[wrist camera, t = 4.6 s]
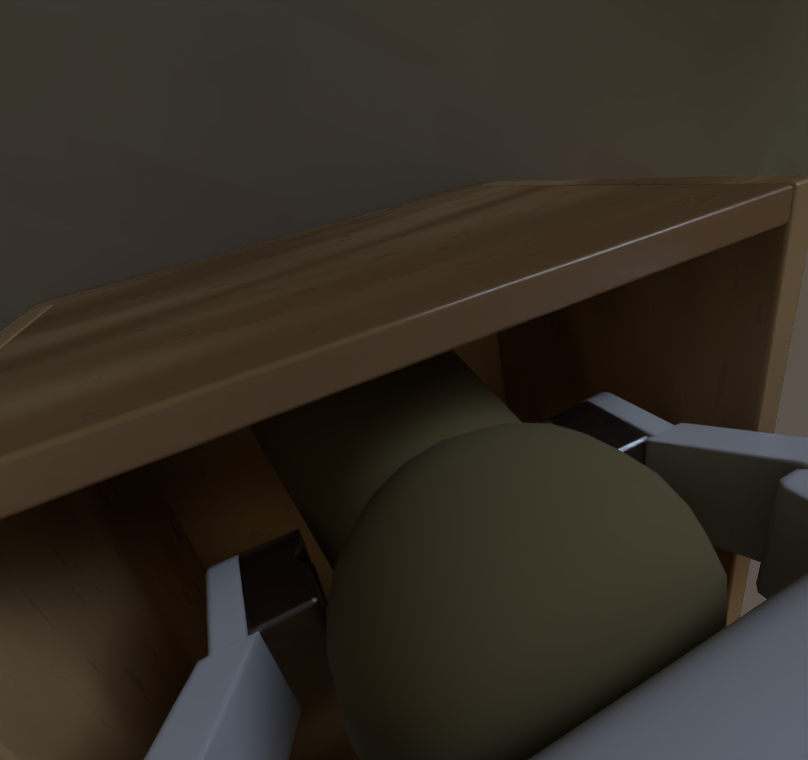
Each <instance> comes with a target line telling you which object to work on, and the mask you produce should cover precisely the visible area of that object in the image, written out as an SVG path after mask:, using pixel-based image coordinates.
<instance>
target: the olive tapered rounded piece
mask: <svg viewBox="0 0 808 760" xmlns="http://www.w3.org/2000/svg"><path fill="white" fill-rule="evenodd" d="M249 427H250V428H251V430H252V432H253V434H254V435H255V437H256V439H257V440H258V442H259V444H260V446H261V447H262V449H263V451H264V452H265V454H266V456H267V458H268V459H269V461H270V463H271V465H272V466H273V468H274V470H275V471H276V473H277V475H278V477H279V478H280V480H281V482H282V483H283V485H284V487H285V489H286V490H287V492H288V494H289V496H290V497H291V499H292V501H293V502H294V504H295V506H296V508H297V509H298V511H299V513H300V515H301V516H302V518H303V520H304V521H305V523H306V525H307V527H308V528H309V530H310V532H311V533H312V535H313V537H314V539H315V540H316V542H317V544H318V546H319V547H320V549H321V551H322V552H323V554H324V556H325V558H326V559H327V561H328V563H329V565H330V566H331V568H332V570H333V571H334V574H333V579H332V584H331V589H330V594H329V599H328V604H327V609H326V651H327V656H328V660H329V664H330V669H331V673H332V678H333V682H334V686H335V691H336V695H337V698H338V702H339V706H340V710H341V714H342V717H343V721H344V725H345V729H346V733H347V736H348V740H349V742H350V744H351V745H352V747H353V749H354V750H355V752H356V754H357V756H358V757H359V759H360V760H528V759H529V758H531V757H532V756H534V755H535V754H537V753H538V752H540V751H541V750H543V749H544V748H546V747H547V746H549V745H550V744H552V743H553V742H555V741H556V740H558V739H559V738H561V737H562V736H564V735H565V734H567V733H568V732H570V731H571V730H573V729H574V728H576V727H577V726H579V725H580V724H582V723H583V722H585V721H586V720H588V719H589V718H591V717H592V716H594V715H595V714H596V713H598V712H599V711H601V710H602V709H604V708H605V707H607V706H608V705H610V704H611V703H613V702H614V701H616V700H617V699H619V698H620V697H622V696H623V695H625V694H626V693H628V692H629V691H631V690H632V689H634V688H635V687H637V686H638V685H640V684H641V683H643V682H644V681H646V680H647V679H649V678H650V677H652V676H653V675H655V674H656V673H658V672H659V671H661V670H662V669H664V668H665V667H667V666H668V665H670V664H671V663H673V662H674V661H676V660H677V659H679V658H680V657H682V656H683V655H685V654H686V653H688V652H689V651H691V650H692V649H694V648H695V647H697V646H698V645H700V644H701V643H703V642H704V641H706V640H707V639H709V638H710V637H712V636H713V635H715V634H716V633H718V632H719V631H721V630H722V629H724V628H725V627H726V621H727V609H728V600H727V574H726V572H725V570H724V568H723V566H722V564H721V562H720V560H719V558H718V556H717V554H716V552H715V550H714V548H713V546H712V544H711V542H710V540H709V538H708V536H707V534H706V532H705V531H704V529H703V527H702V526H701V524H700V523H699V521H698V519H697V518H696V516H695V515H694V513H693V511H692V510H691V508H690V507H689V506H688V504H687V503H686V502H685V501H684V500H683V499H682V498H681V497H680V496H679V495H678V494H677V493H676V492H675V491H674V490H673V489H672V488H671V487H670V486H669V485H668V484H667V482H666V481H665V480H664V479H663V478H662V477H661V476H660V475H659V474H658V473H657V472H655V471H653V470H652V469H650V468H648V467H647V466H645V465H644V464H642V463H640V462H639V461H637V460H635V459H634V458H632V457H630V456H629V455H627V454H625V453H624V452H622V451H621V450H618V449H616V448H614V447H612V446H610V445H608V444H606V443H604V442H602V441H600V440H598V439H595V438H593V437H591V436H589V435H587V434H584V433H581V432H578V431H574V430H571V429H567V428H564V427H561V426H557V425H554V424H548V423H522V422H521V421H520V420H519V419H518V418H517V417H516V415H515V414H514V413H513V412H512V411H511V410H510V409H509V408H508V407H507V406H506V405H505V404H504V403H503V402H502V401H501V400H500V399H499V398H498V397H497V396H496V395H495V393H494V392H493V391H492V390H491V389H490V388H489V387H488V386H487V385H486V384H485V383H484V382H483V381H482V380H481V379H480V378H479V377H478V376H477V375H476V374H475V373H474V371H473V370H472V369H471V368H470V367H469V366H468V365H467V364H466V363H465V362H464V361H463V360H462V359H461V358H460V357H459V356H458V355H457V354H456V353H455V352H454V351H453V350H450V351H448V352H445V353H442V354H440V355H437V356H434V357H432V358H429V359H426V360H424V361H421V362H418V363H416V364H413V365H410V366H408V367H405V368H402V369H400V370H397V371H394V372H392V373H389V374H386V375H384V376H381V377H378V378H376V379H373V380H371V381H368V382H365V383H363V384H360V385H357V386H355V387H352V388H349V389H347V390H344V391H341V392H339V393H336V394H333V395H331V396H328V397H325V398H323V399H320V400H317V401H315V402H312V403H309V404H307V405H304V406H301V407H299V408H296V409H293V410H291V411H288V412H285V413H283V414H280V415H277V416H275V417H272V418H269V419H267V420H264V421H262V422H259V423H256V424H254V425H251V426H249Z"/></svg>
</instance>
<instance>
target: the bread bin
mask: <svg viewBox="0 0 808 760" xmlns="http://www.w3.org/2000/svg"><path fill="white" fill-rule="evenodd" d="M807 251H808V175H776V176H729V177H683V178H637V179H591V180H545V181H499V182H481V183H477V184H474V185H470V186H466V187H463V188H459V189H455V190H452V191H448V192H444V193H441V194H437V195H434V196H430V197H426V198H423V199H419V200H415V201H412V202H408V203H404V204H401V205H397V206H393V207H390V208H386V209H383V210H379V211H375V212H372V213H368V214H364V215H361V216H357V217H353V218H350V219H346V220H342V221H339V222H335V223H332V224H328V225H324V226H321V227H317V228H313V229H310V230H306V231H302V232H299V233H295V234H292V235H288V236H284V237H281V238H277V239H273V240H270V241H266V242H262V243H259V244H255V245H251V246H248V247H244V248H241V249H237V250H233V251H230V252H226V253H222V254H219V255H215V256H211V257H208V258H204V259H200V260H197V261H193V262H190V263H186V264H182V265H179V266H175V267H171V268H168V269H164V270H160V271H157V272H153V273H150V274H146V275H142V276H139V277H135V278H131V279H128V280H124V281H120V282H117V283H113V284H109V285H106V286H102V287H99V288H95V289H91V290H88V291H84V292H80V293H77V294H73V295H69V296H66V297H62V298H59V299H55V300H51V301H48V302H44V303H40V304H37V305H35V306H34V307H32V308H31V309H30V310H29V311H27V312H26V313H25V314H23V315H22V316H20V317H19V318H18V319H16V320H15V321H14V322H12V323H11V324H10V325H8V326H7V327H5V328H4V329H3V330H1V331H0V760H144V758H145V756H146V754H147V752H148V751H149V749H150V747H151V745H152V743H153V741H154V740H155V738H156V736H157V734H158V732H159V731H160V729H161V727H162V725H163V723H164V721H165V720H166V718H167V716H168V714H169V712H170V711H171V709H172V707H173V705H174V703H175V701H176V700H177V698H178V696H179V694H180V692H181V691H182V689H183V687H184V685H185V683H186V681H187V680H188V678H189V676H190V674H191V672H192V671H193V669H194V667H195V665H196V663H197V661H199V660H201V659H203V658H205V657H207V656H208V642H207V609H206V577H205V575H206V572H207V570H208V567H210V566H212V565H214V564H217V563H219V562H221V561H224V560H226V559H228V558H231V557H233V556H236V555H239V554H240V553H241V552H244V551H246V550H249V549H251V548H253V547H256V546H258V545H260V544H263V543H265V542H268V541H270V540H272V539H275V538H277V537H279V536H282V535H284V534H287V533H289V532H291V531H294V530H296V529H299V531H300V533H301V535H302V537H303V539H304V542H305V544H306V546H307V549H308V553H309V556H310V559H311V562H312V563H314V565H315V568H316V570H317V573H318V575H319V578H320V580H321V583H322V585H323V588H324V591H325V594H326V597H327V599H329V594H330V589H331V584H332V579H333V574H334V571H333V570H332V568H331V566H330V565H329V563H328V561H327V559H326V558H325V556H324V554H323V552H322V551H321V549H320V547H319V546H318V544H317V542H316V540H315V539H314V537H313V535H312V533H311V532H310V530H309V528H308V527H307V525H306V523H305V521H304V520H303V518H302V516H301V515H300V513H299V511H298V509H297V508H296V506H295V504H294V502H293V501H292V499H291V497H290V496H289V494H288V492H287V490H286V489H285V487H284V485H283V483H282V482H281V480H280V478H279V477H278V475H277V473H276V471H275V470H274V468H273V466H272V465H271V463H270V461H269V459H268V458H267V456H266V454H265V452H264V451H263V449H262V447H261V446H260V444H259V442H258V440H257V439H256V437H255V435H254V434H253V432H252V430H251V428H250V427H249V426H251V425H254V424H256V423H259V422H262V421H264V420H267V419H269V418H272V417H275V416H277V415H280V414H283V413H285V412H288V411H291V410H293V409H296V408H299V407H301V406H304V405H307V404H309V403H312V402H315V401H317V400H320V399H323V398H325V397H328V396H331V395H333V394H336V393H339V392H341V391H344V390H347V389H349V388H352V387H355V386H357V385H360V384H363V383H365V382H368V381H371V380H373V379H376V378H378V377H381V376H384V375H386V374H389V373H392V372H394V371H397V370H400V369H402V368H405V367H408V366H410V365H413V364H416V363H418V362H421V361H424V360H426V359H429V358H432V357H434V356H437V355H440V354H442V353H445V352H448V351H450V350H453V351H454V352H455V353H456V354H457V355H458V356H459V357H460V358H461V359H462V360H463V361H464V362H465V363H466V364H467V365H468V366H469V367H470V368H471V369H472V370H473V371H474V373H475V374H476V375H477V376H478V377H479V378H480V379H481V380H482V381H483V382H484V383H485V384H486V385H487V386H488V387H489V388H490V389H491V390H492V391H493V392H494V393H495V395H496V396H497V397H498V398H499V399H500V400H501V401H502V402H503V403H504V404H505V405H506V406H507V407H508V408H509V409H510V410H511V411H512V412H513V413H514V414H515V415H516V417H517V418H518V419H519V420H520V421H521V422H522V423H539V421H541V420H543V419H545V418H547V417H550V416H552V415H554V414H556V413H558V412H561V411H563V410H565V409H567V408H569V407H572V406H574V405H576V404H579V403H581V401H583V400H586V399H588V398H590V397H592V396H594V395H596V394H598V393H600V392H608V393H611V394H613V395H615V396H617V397H619V398H621V399H623V400H625V401H627V402H629V403H631V404H633V405H635V406H637V407H639V408H641V409H643V410H645V411H647V412H649V413H651V414H653V415H655V416H657V417H659V418H661V419H663V420H665V421H667V422H669V423H671V424H673V425H677V424H679V423H689V424H697V425H706V426H714V427H722V428H730V429H739V430H747V431H755V432H764V433H772V434H774V429H775V424H776V419H777V413H778V408H779V402H780V397H781V392H782V386H783V381H784V375H785V370H786V364H787V359H788V353H789V348H790V343H791V337H792V332H793V326H794V321H795V315H796V310H797V305H798V299H799V293H800V288H801V283H802V277H803V272H804V267H805V261H806V256H807ZM712 546H713V545H712ZM713 548H714V550H715V552H716V554H717V556H718V558H719V560H720V562H721V564H722V566H723V568H724V570H725V572H726V574H727V600H728V609H727V621H726V627H727V626H728V625H730V624H731V623H733V622H734V621H736V620H737V619H739V618H740V614H741V609H742V603H743V598H744V592H745V587H746V581H747V576H748V571H749V565H750V560H751V558H748V557H745V556H742V555H739V554H736V553H733V552H730V551H727V550H725V549H722V548H719V547H716V546H713ZM300 707H301V709H302V710H301V714H300V718H299V722H298V726H297V730H296V734H295V738H294V742H293V746H292V750H291V754H290V758H289V760H360V759H359V757H358V756H357V754H356V752H355V750H354V749H353V747H352V745H351V744H350V742H349V740H348V736H347V733H346V729H345V725H344V721H343V717H342V714H341V710H340V706H339V702H338V698H337V695H336V691H335V686H334V687H332V688H330V689H328V690H327V691H325V692H323V693H322V694H320V695H318V696H316V697H315V698H313V699H311V700H310V701H308V702H306V703H304V704H303V705H301V706H300Z"/></svg>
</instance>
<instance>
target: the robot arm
mask: <svg viewBox="0 0 808 760" xmlns="http://www.w3.org/2000/svg"><path fill="white" fill-rule="evenodd" d="M539 423H548V424H554V425H557V426H561V427H564V428H567V429H571V430H574V431H578V432H581V433H584V434H587V435H589V436H591V437H593V438H595V439H598V440H600V441H602V442H604V443H606V444H608V445H610V446H612V447H614V448H616V449H618V450H621V451H622V452H624V453H625V454H627V455H629V456H630V457H632V458H634V459H635V460H637V461H639V462H640V463H642V464H644V465H645V466H647V467H648V468H650V469H652V470H653V471H655V472H657V473H658V474H659V475H660V476H661V477H662V478H663V479H664V480H665V481H666V482H667V484H668V485H669V486H670V487H671V488H672V489H673V490H674V491H675V492H676V493H677V494H678V495H679V496H680V497H681V498H682V499H683V500H684V501H685V502H686V503H687V504H688V506H689V507H690V508H691V510H692V511H693V513H694V515H695V516H696V518H697V519H698V521H699V523H700V524H701V526H702V527H703V529H704V531H705V532H706V534H707V536H708V538H709V540H710V542H711V544H712V545H713V546H716V547H719V548H722V549H725V550H727V551H730V552H733V553H736V554H739V555H742V556H745V557H748V558H751V559H753V560H756V561H759V562H761V564H760V569H759V574H758V578H757V582H756V584H757V590H758V593H760V594H761V595H763V596H764V597H765V598H766V599H767V600H766V601H764V602H763V603H761V604H760V605H758V606H757V607H755V608H754V609H752V610H751V611H749V612H748V613H746V614H745V615H743V616H742V617H740V618H739V619H737V620H736V621H734V622H733V623H731V624H730V625H728V626H727V627H725V628H724V629H722V630H721V631H719V632H718V633H716V634H715V635H713V636H712V637H710V638H709V639H707V640H706V641H704V642H703V643H701V644H700V645H698V646H697V647H695V648H694V649H692V650H691V651H689V652H688V653H686V654H685V655H683V656H682V657H680V658H679V659H677V660H676V661H674V662H673V663H671V664H670V665H668V666H667V667H665V668H664V669H662V670H661V671H659V672H658V673H656V674H655V675H653V676H652V677H650V678H649V679H647V680H646V681H644V682H643V683H641V684H640V685H638V686H637V687H635V688H634V689H632V690H631V691H629V692H628V693H626V694H625V695H623V696H622V697H620V698H619V699H617V700H616V701H614V702H613V703H611V704H610V705H608V706H607V707H605V708H604V709H602V710H601V711H599V712H598V713H596V714H595V715H594V716H592V717H591V718H589V719H588V720H586V721H585V722H583V723H582V724H580V725H579V726H577V727H576V728H574V729H573V730H571V731H570V732H568V733H567V734H565V735H564V736H562V737H561V738H559V739H558V740H556V741H555V742H553V743H552V744H550V745H549V746H547V747H546V748H544V749H543V750H541V751H540V752H538V753H537V754H535V755H534V756H532V757H531V758H529V759H528V760H808V438H805V437H797V436H789V435H780V434H772V433H764V432H755V431H747V430H739V429H730V428H722V427H714V426H706V425H697V424H689V423H679V424H677V425H673V424H671V423H669V422H667V421H665V420H663V419H661V418H659V417H657V416H655V415H653V414H651V413H649V412H647V411H645V410H643V409H641V408H639V407H637V406H635V405H633V404H631V403H629V402H627V401H625V400H623V399H621V398H619V397H617V396H615V395H613V394H611V393H608V392H600V393H598V394H596V395H594V396H592V397H590V398H588V399H586V400H583V401H581V403H579V404H576V405H574V406H572V407H569V408H567V409H565V410H563V411H561V412H558V413H556V414H554V415H552V416H550V417H547V418H545V419H543V420H541V421H539ZM205 577H206V609H207V642H208V656H207V657H205V658H203V659H201V660H199V661H197V663H196V665H195V667H194V669H193V671H192V672H191V674H190V676H189V678H188V680H187V681H186V683H185V685H184V687H183V689H182V691H181V692H180V694H179V696H178V698H177V700H176V701H175V703H174V705H173V707H172V709H171V711H170V712H169V714H168V716H167V718H166V720H165V721H164V723H163V725H162V727H161V729H160V731H159V732H158V734H157V736H156V738H155V740H154V741H153V743H152V745H151V747H150V749H149V751H148V752H147V754H146V756H145V758H144V760H289V758H290V754H291V750H292V746H293V742H294V738H295V734H296V730H297V726H298V722H299V718H300V714H301V710H302V709H301V707H300V706H301V705H303V704H304V703H306V702H308V701H310V700H311V699H313V698H315V697H316V696H318V695H320V694H322V693H323V692H325V691H327V690H328V689H330V688H332V687H334V682H333V678H332V673H331V669H330V664H329V660H328V656H327V651H326V609H327V604H328V599H327V597H326V594H325V591H324V588H323V585H322V583H321V580H320V578H319V575H318V573H317V570H316V568H315V565H314V563H312V562H311V559H310V556H309V553H308V549H307V546H306V544H305V542H304V539H303V537H302V535H301V533H300V531H299V529H296V530H294V531H291V532H289V533H287V534H284V535H282V536H279V537H277V538H275V539H272V540H270V541H268V542H265V543H263V544H260V545H258V546H256V547H253V548H251V549H249V550H246V551H244V552H241V553H240V554H239V555H236V556H233V557H231V558H228V559H226V560H224V561H221V562H219V563H217V564H214V565H212V566H210V567H208V570H207V572H206V575H205Z"/></svg>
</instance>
